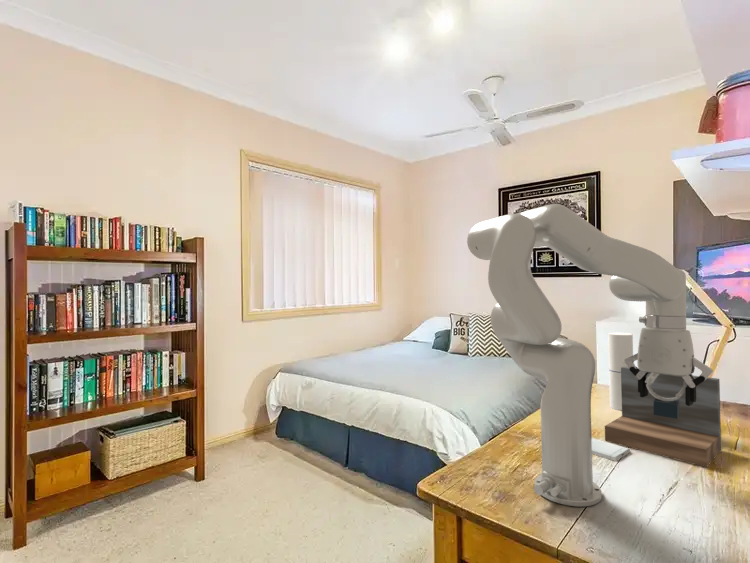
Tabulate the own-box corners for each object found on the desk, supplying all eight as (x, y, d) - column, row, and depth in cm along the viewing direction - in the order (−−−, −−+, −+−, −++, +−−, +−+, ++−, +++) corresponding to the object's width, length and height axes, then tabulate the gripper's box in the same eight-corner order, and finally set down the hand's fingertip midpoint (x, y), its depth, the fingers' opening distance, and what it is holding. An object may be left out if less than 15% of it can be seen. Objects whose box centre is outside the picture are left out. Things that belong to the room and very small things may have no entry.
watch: (646, 407, 99) (646, 361, 99) (689, 414, 94) (688, 365, 94) (643, 413, 95) (642, 364, 95) (687, 420, 90) (686, 369, 90)
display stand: (706, 467, 96) (704, 388, 96) (605, 440, 113) (603, 374, 113) (721, 450, 105) (719, 378, 105) (625, 428, 122) (623, 366, 122)
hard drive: (565, 441, 110) (615, 456, 100) (580, 434, 115) (630, 447, 105) (565, 448, 110) (615, 463, 100) (581, 440, 115) (630, 454, 105)
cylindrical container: (605, 405, 144) (603, 332, 144) (624, 404, 145) (622, 332, 145) (619, 411, 137) (617, 335, 137) (639, 410, 138) (637, 334, 138)
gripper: (617, 321, 99) (617, 395, 99) (709, 327, 86) (709, 412, 85) (629, 320, 104) (629, 390, 104) (718, 325, 90) (718, 405, 90)
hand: (666, 400), depth 94 cm, fingers closed on watch, 8 cm apart
